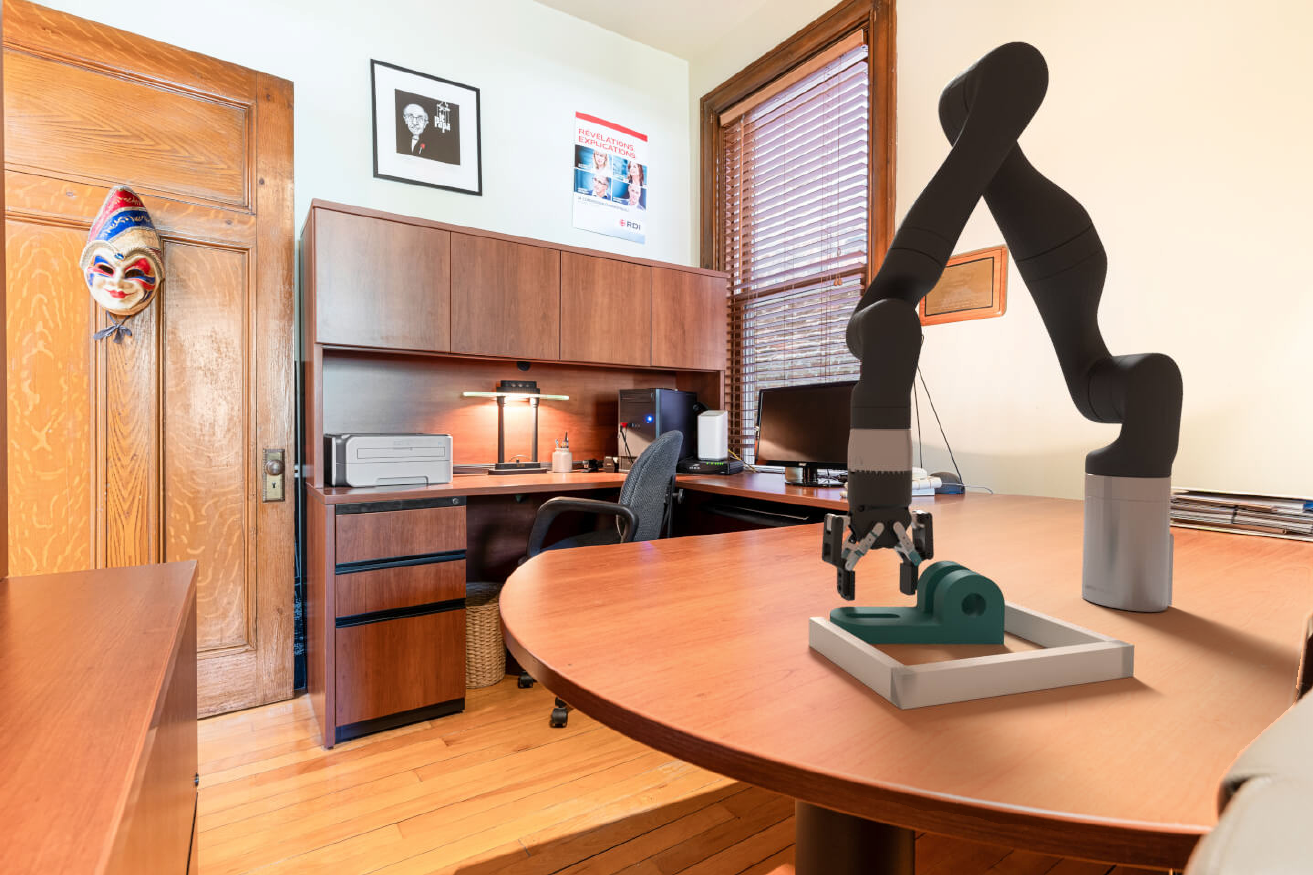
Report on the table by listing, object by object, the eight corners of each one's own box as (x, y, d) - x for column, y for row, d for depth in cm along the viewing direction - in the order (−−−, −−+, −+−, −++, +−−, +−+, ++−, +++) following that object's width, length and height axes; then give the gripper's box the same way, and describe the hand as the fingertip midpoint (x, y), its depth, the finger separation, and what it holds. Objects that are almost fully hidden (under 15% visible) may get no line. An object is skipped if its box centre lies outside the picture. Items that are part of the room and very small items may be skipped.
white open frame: (1002, 624, 74) (1003, 599, 74) (1133, 676, 59) (1134, 645, 59) (808, 644, 67) (808, 617, 67) (901, 709, 52) (902, 674, 52)
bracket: (972, 625, 75) (973, 560, 74) (1003, 646, 68) (1005, 574, 68) (822, 624, 75) (823, 560, 74) (839, 645, 68) (840, 574, 68)
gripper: (909, 463, 82) (907, 584, 82) (812, 464, 78) (810, 592, 78) (950, 467, 74) (947, 601, 75) (845, 469, 71) (843, 610, 71)
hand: (877, 596), depth 77 cm, fingers open, 8 cm apart
